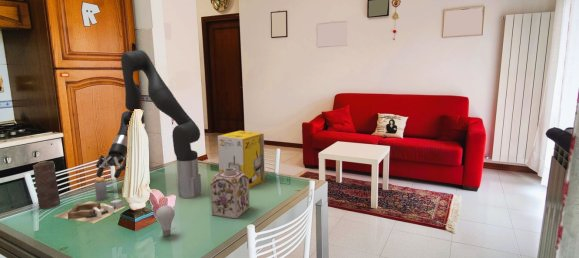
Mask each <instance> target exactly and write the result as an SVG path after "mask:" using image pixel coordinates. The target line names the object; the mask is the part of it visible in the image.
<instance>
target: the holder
mask: <svg viewBox="0 0 579 258" xmlns="http://www.w3.org/2000/svg"><path fill="white" fill-rule="evenodd" d="M100 203H101V202H98V203H90V204H84V203H82V204H75V205H74V206H73V207H72V208H73V209H72V208H71V209H72V210H71V211H70V212H69V213H68V219H67V220H71V219H73V218H84V217H86V215H93V214H95V211H94V209H93V208H95V207H97V208H98V209H100V208H101V206H100ZM81 210H89V211H81Z"/></svg>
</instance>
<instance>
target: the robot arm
mask: <svg viewBox="0 0 579 258" xmlns="http://www.w3.org/2000/svg"><path fill="white" fill-rule="evenodd" d="M120 62H121V63H120V65H121V69H122V70H121V71H122V76H123V83H124V91H125V96H124V97H125V102H124V103H125V108H126V109H127V110H126V111H124V112H122V113H121V117H120V126H119V130H118V132H117V133H116V135H115V138H114V139H113V142H112V144H111V146H110V148H109V150H108V154H107V156H104V155H100V157H99V158H98V160H97V162H96V164H95V167H96V168H97V169H98V170H97V172H96V173H95V174H96V177H97V178H98V177H102V175H103V173H104V171H105V169H107V168H109V167H117V169H116V170H115V172H114V174H113V177H114V178H115V179H119V178H120V175H121V173H122V171H126V170H125V166H126V156H127V154H128V152H127V130H128V127H129V126H130V125H129V121H130V118H131V115H132V113H133V111H134V109H141V110H142V111H143V109H142V93H141V92H142V91H141V90H140V88H139V86H138V85H137V83H136V82H135V80H134V73H135V72H139V71H142V72H143V73H144V74H145V76H146V78H147V82H148V83H147V94H148V97H149V99H150V100H151V102H152V103H153V104H154V106H155V107H156V109H158V110H159V111H161V112H162V113H164V114H165V115H166V116H167V117H169V118H171V119H172V120H173V121H174V122H175V123H176V126H175V127H173V130H172V136H171V138H172V144H173V152H174V155H175V157H176V158H175V159H176V169H177V171H176V172H177V173H176V174H177V186H178V197H179V198H181V199H192V198H193V199H195V198H196V197H198V196H200V195H201V194H202V177H201V176H202V175H201V173H199V157H198V154H199V153H198V152H197V151H196V150H192V146H191V144H194V143H195V142H198V141H199V140H200V138H201V131H200V129H199V126H198V125H197V124H196V122H195V121H194V120H193V119H192V118H191V117H190V116H189V114H188V113H187V112H186V111H185V109H184V108H183V107H182V105H181V104H180V103H179V102H178V100H177V99H176V97H175V96H174V94H173V92H172V91H171V90H170V88H169V87H168V85H166V83H165V81H164V80H163V78H162V77H161V75H160V74H159V72H158V71H157V69H156V67H155V65H154V64H153V61H152V60H151V58H150V56H149V55H148V53H146V51H144V50H137V49H136V50H131V51H124V52H123V53H122V55H121V59H120ZM142 123H143V124H144V123H145V116H144V114H143V116H142Z"/></svg>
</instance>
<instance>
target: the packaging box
mask: <svg viewBox="0 0 579 258" xmlns="http://www.w3.org/2000/svg"><path fill="white" fill-rule="evenodd" d="M264 138H265V134H264V132H263V133H262V132H253V131H247V130H237V131H232V132H227V133H224V134H220V135H217V148H218V149H217V151H218V153H217V155H218V157H217V158H218V173H219V172H222V171H224V169H226V168H235V169H236V171H241V172H243V173H244V174H246V176H247V177H248V178H249V189H250V188H252V187H254V186H257V185H258V184H260V183H263V182H265V181H266V180H265V139H264Z"/></svg>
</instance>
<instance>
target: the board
mask: <svg viewBox="0 0 579 258" xmlns="http://www.w3.org/2000/svg"><path fill="white" fill-rule="evenodd" d="M90 203H100V206H101V208H100V209H99V210H101V212H102V211H104V210H103V205H109V206H110V203H104V202H103V203H102V202H97V201H91V200H90V201H87V202H84V203H83V204H90ZM73 208H74V207H72V208H70V209H68V210H65V211H63V212H61V213H59V214H56V215H54V216H53V218H54V217H55V218H60V219H66V220H69V219H68V213H69V212H70V211H71V210H72V209H73ZM125 208H126V206H124V205H123V206H122V207H120V208H118V209H114V213H113V214H115V213H117V212H119V211H121V210H123V209H125ZM81 211H89V210H81ZM111 215H112V214H111V213H106V214H103V215H102V217H100V218H99V217H97V216H96V217H92V218H86V217H84V218H73V219H70V220H71V221H78V222H82V223H83V222H85V223H90V224H95V223H97V222H99V221H101V220H103V219H105V218H107V217H109V216H111Z"/></svg>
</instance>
